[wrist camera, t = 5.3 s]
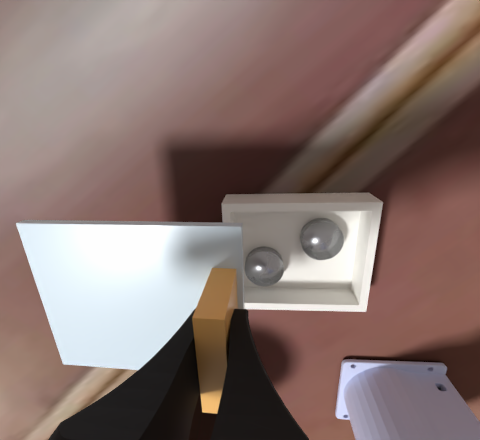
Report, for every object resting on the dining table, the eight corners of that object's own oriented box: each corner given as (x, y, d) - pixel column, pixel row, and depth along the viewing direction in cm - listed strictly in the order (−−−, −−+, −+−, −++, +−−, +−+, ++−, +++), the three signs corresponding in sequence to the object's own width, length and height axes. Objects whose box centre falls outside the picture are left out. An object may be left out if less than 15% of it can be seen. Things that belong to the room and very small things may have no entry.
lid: (243, 217, 14) (230, 266, 9) (247, 359, 17) (238, 449, 12) (36, 214, 15) (-68, 257, 10) (77, 347, 18) (11, 425, 13)
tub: (368, 192, 21) (383, 202, 18) (355, 292, 24) (366, 311, 21) (226, 194, 22) (221, 203, 19) (231, 289, 25) (227, 308, 22)
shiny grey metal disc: (344, 220, 21) (348, 224, 20) (335, 256, 22) (338, 262, 21) (303, 215, 21) (305, 219, 20) (296, 251, 22) (298, 257, 21)
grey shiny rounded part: (272, 240, 22) (272, 245, 21) (289, 270, 23) (290, 276, 22) (238, 256, 23) (237, 261, 22) (256, 285, 24) (256, 292, 23)
